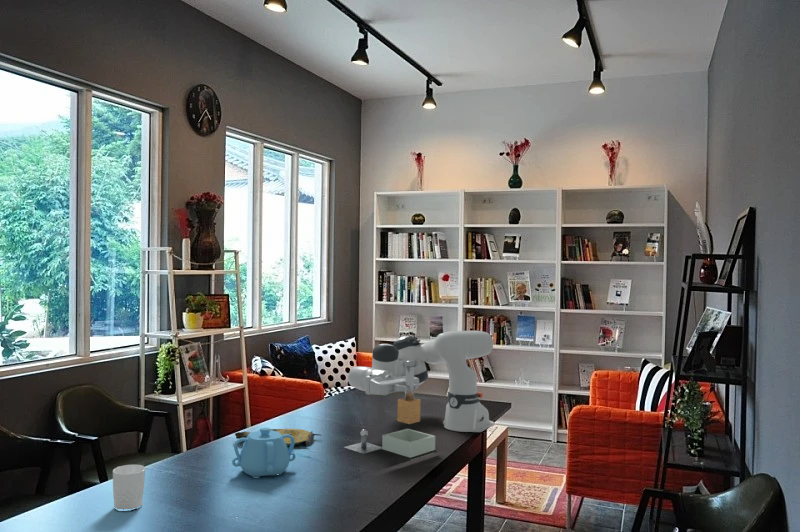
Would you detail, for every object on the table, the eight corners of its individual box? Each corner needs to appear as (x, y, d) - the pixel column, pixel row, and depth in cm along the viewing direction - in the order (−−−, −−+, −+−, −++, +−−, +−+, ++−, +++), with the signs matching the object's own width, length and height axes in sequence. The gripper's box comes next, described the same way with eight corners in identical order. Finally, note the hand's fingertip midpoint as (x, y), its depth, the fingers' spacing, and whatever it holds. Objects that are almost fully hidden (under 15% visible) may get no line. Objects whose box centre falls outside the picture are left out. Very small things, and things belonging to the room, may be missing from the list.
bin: (407, 445, 230) (407, 428, 230) (434, 453, 222) (435, 436, 222) (382, 452, 221) (382, 435, 221) (410, 461, 212) (410, 443, 212)
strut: (408, 418, 225) (409, 358, 225) (420, 421, 221) (421, 360, 221) (397, 421, 221) (398, 360, 221) (409, 424, 217) (411, 362, 217)
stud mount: (364, 445, 229) (364, 424, 229) (384, 451, 222) (384, 429, 222) (343, 450, 222) (343, 429, 222) (363, 457, 215) (363, 434, 215)
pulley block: (244, 419, 236) (322, 425, 230) (245, 434, 237) (322, 440, 231) (227, 434, 222) (309, 442, 217) (227, 450, 223) (309, 458, 218)
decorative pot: (225, 474, 194) (226, 430, 194) (261, 460, 208) (261, 419, 208) (267, 485, 186) (268, 438, 186) (301, 469, 201) (302, 426, 200)
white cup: (118, 501, 171) (119, 464, 171) (148, 501, 171) (149, 464, 171) (107, 513, 163) (108, 474, 163) (138, 513, 164) (139, 474, 164)
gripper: (402, 387, 237) (430, 393, 228) (362, 394, 222) (391, 401, 213) (402, 370, 237) (431, 375, 228) (362, 376, 222) (391, 382, 213)
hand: (411, 388), depth 220 cm, fingers closed on strut, 3 cm apart
